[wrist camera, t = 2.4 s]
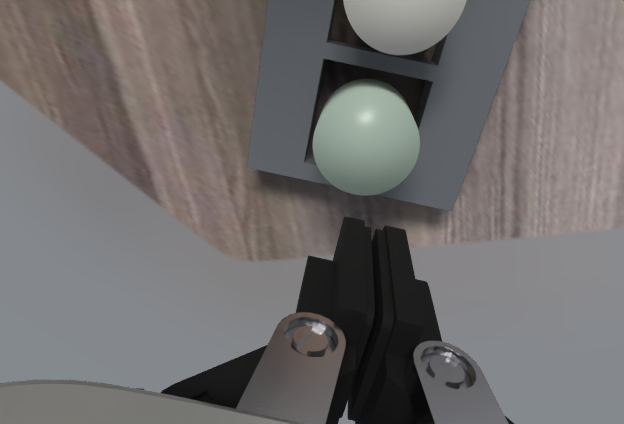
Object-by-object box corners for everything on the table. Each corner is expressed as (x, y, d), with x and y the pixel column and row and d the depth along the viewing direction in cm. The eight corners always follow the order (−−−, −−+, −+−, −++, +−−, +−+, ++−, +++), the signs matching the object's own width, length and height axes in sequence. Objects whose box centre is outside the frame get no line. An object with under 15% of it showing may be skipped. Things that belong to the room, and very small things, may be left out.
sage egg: (423, 89, 26) (434, 105, 22) (397, 176, 28) (403, 204, 24) (329, 69, 26) (323, 81, 22) (312, 158, 28) (304, 183, 24)
